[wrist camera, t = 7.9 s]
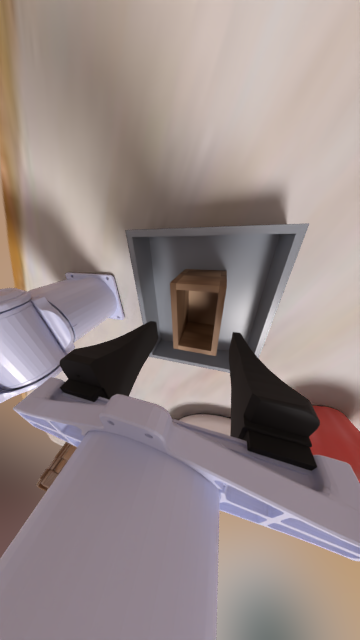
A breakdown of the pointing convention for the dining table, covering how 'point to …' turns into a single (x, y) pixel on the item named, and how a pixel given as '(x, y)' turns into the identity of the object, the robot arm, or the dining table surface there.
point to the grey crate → (215, 254)
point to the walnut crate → (197, 309)
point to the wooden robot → (56, 466)
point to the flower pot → (336, 438)
